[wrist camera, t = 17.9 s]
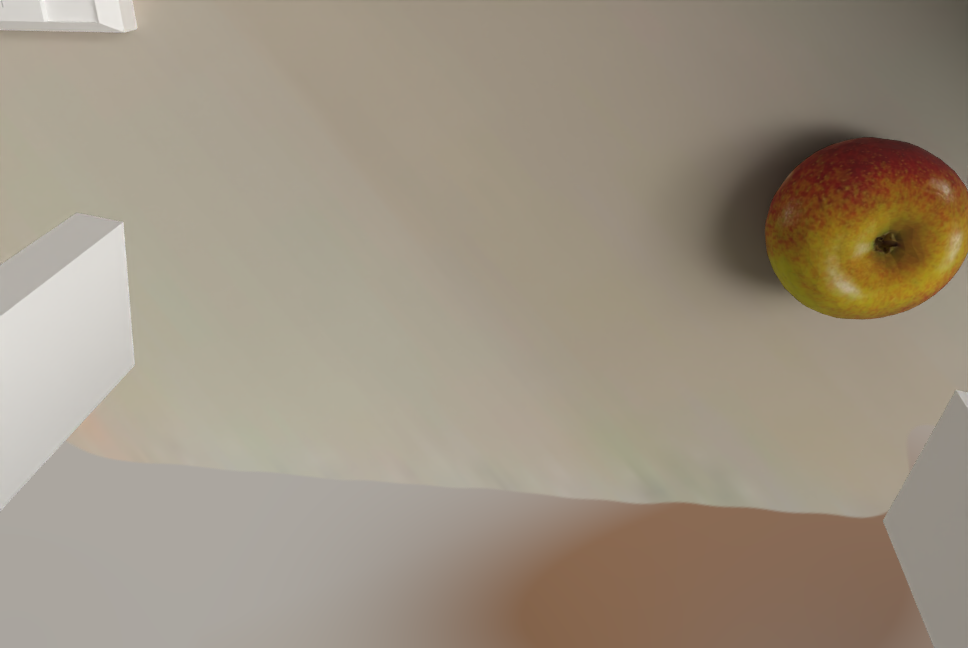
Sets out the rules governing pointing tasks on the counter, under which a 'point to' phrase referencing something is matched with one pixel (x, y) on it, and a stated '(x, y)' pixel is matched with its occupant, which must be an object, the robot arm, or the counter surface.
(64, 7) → the white beveled block
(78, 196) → the counter surface
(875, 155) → the fruit
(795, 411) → the counter surface
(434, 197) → the counter surface
